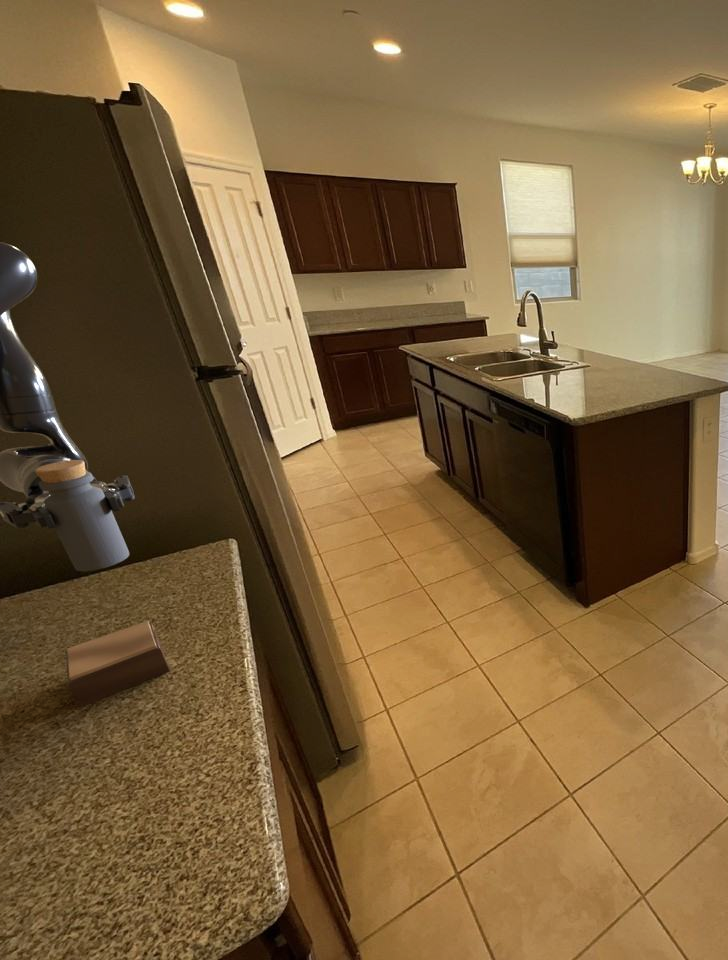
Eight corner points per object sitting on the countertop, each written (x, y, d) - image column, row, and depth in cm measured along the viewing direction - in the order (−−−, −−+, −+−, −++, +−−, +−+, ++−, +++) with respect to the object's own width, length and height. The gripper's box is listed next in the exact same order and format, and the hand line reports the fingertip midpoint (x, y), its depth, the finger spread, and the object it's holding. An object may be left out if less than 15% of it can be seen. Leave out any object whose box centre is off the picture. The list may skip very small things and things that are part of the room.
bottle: (64, 568, 74) (16, 470, 69) (113, 549, 80) (72, 456, 74) (92, 574, 73) (45, 475, 67) (139, 554, 78) (100, 460, 72)
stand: (77, 674, 73) (63, 648, 71) (160, 643, 79) (150, 618, 78) (80, 707, 67) (65, 680, 66) (170, 670, 73) (158, 645, 72)
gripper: (-23, 477, 74) (-9, 506, 65) (113, 451, 85) (141, 472, 76) (1, 524, 77) (18, 558, 68) (130, 493, 88) (159, 519, 78)
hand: (83, 513), depth 72 cm, fingers closed on bottle, 6 cm apart
